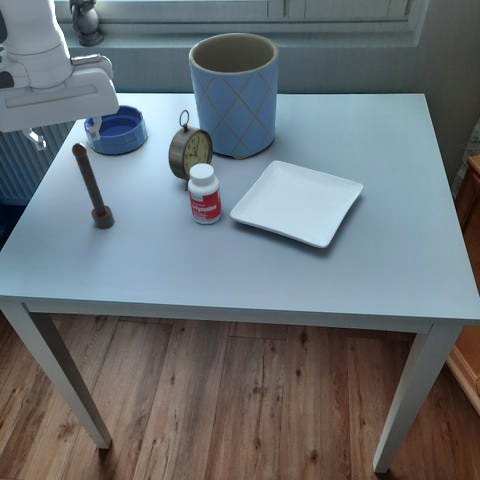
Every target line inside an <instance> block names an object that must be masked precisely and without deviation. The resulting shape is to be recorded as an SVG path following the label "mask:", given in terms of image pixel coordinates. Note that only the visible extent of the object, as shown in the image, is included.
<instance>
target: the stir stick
mask: <svg viewBox="0 0 480 480" xmlns="http://www.w3.org/2000/svg"><path fill="white" fill-rule="evenodd" d="M71 153H72V155H73V156H74V158H75V161H76V164H77V166H78V169H79V171H80V174H81V176H82V179H83V182H84V184H85V187H86V191H87V193H88V196H89V199H90V201H91V204H92V207H93V209H92V210H91V213H90V214H91V217H92V219H93V223H94V225H95V227H96V228H97V229H99V230H107V229H110V228H112V227H113V226H114V224H115V221H116V220H115V217H114V215H113V211H112V208H111V207H110V206H109V205H105V202H104V199H103V196H102V193H101V190H100V187H99V183H98V181H97V179H96V178H97V177H96V176H95V172H94V170H93V168H92V164H91V160H90V158H89V155H88V148H87V146H86V145H85V144H84V143H81V142H75V143H74V144H73V145H72V147H71Z"/></svg>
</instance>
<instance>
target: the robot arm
mask: <svg viewBox="0 0 480 480" xmlns="http://www.w3.org/2000/svg"><path fill="white" fill-rule="evenodd" d="M0 45H2V47H3V50H1V51H0V132H2V133H4V134H6V133H11V132H12V133H13V132H16V131H21V132H22V134H23V136H25V137H26V139H28V140H29V141H31V142H32V143H34V145H35V148H36V150H37V151H38V152H39V151H44V150H47V143H46V141H45V138H44V136H43V135H37V134H36V132H34V131H33V129H34V128H41V127H45V126H51V125H57V124H63V123H69V122H74V121H81V120H86V119H87V118H93V122H94V126H93V127H89V131H90V135H91V138H92V141H94V140H100V135H99V129H100V126H101V123H102V120H101V116H104V115H110V114H115V113H117V111H118V109H119V105H120V103H119V99H118V94H117V92H116V89H115V86H114V83H113V79H114V78H115V77H114V76H115V72H114V69H113V64H112V62H111V60H110V59H109V58H108V57H106V56H104V55H100V53H91V54H89V55H77V56H70V52H69V49H68V46H67V43H66V39H65V36H64V33H63V31H62V29H61V28H60V26H59V24H58V22H57V18H56V13H55V3H54V0H0Z"/></svg>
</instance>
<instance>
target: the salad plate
mask: <svg viewBox="0 0 480 480" xmlns="http://www.w3.org/2000/svg"><path fill="white" fill-rule="evenodd" d="M363 190H364V184H362V183H360V182H357V181H354V180H351V179H348V178H344V177H341V176H337V175H333V174H330V173H326V172H322V171H320V170H319V171H318V170H315V169H311V168H308V167H304V166H300V165H296V164H294V163H289V162H286V161H281V160H272V161H271V162H270V164H269V165H267V167H266V168H265V169H264V171H263V172H262V173H261V174H260V175H259V177H257V179H256V181H255V182H254V183H253V184H252V185H251V187H250V188H249V189H248V190H247V191H246V193H245V194H244V195H243V196H242V197H241V199H239V200H238V202H237V203H236V204H235V206H234V207H233V208H231V210H230V213H229V217H230V218H231V219H232V220H234V221H235V222H237V223H240V224H243V225H248V226H252V227H255V228H258V229H261V230H264V231H268V232H271V233H275V234H278V235H281V236H283V237H287V238H288V239H293V240H295V241H298V242H300V243H304V244H306V245H308V246H312V247H315V248H319V249H324V248H327V247H328V246H329V245H330V243H331V242H332V240H333V238H334V236H335V235H336V233H337V231H338V229H339V227H340V225H341V223H342V222H343V220H344V218H345V217H346V215H347V213H348V212H349V211H350V209H351V207H352V206H353V205H354V203H355V202H356V201H357V199H358V198H359V196H360V195H361V194H362V192H363Z"/></svg>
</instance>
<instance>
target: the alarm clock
mask: <svg viewBox="0 0 480 480" xmlns="http://www.w3.org/2000/svg"><path fill="white" fill-rule="evenodd" d="M185 112H186V114H187V120H186V123H183V124H182V116H183V115H184V113H185ZM189 121H190V113H189V111H188V110H187V109H184V110H182V111H181V112H180V115H179V121H178V122H179V126H180V127H181V128H179V129H178V130H177V131H176V132H175V134H174V135H173V137H172V139H171V141H170V143H169V148H168V158H167V159H168V165H169V168H170V171H171V173H172V174H173V175H174V176H175V177H176V178H177V179H181V180H183V181H185V188H184V191H185V192H189V190H188V182H189V180H190V169H191V168H192V167H193V166H195V165H197V164H209V165H211V164H212V161H213V157H214V156H213V155H214V151H213V144H212V139H211V137H210V135H209V133H208V132H207V131H206V130H204V129H200V127H196V126H190V125H188V124H189Z"/></svg>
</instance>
